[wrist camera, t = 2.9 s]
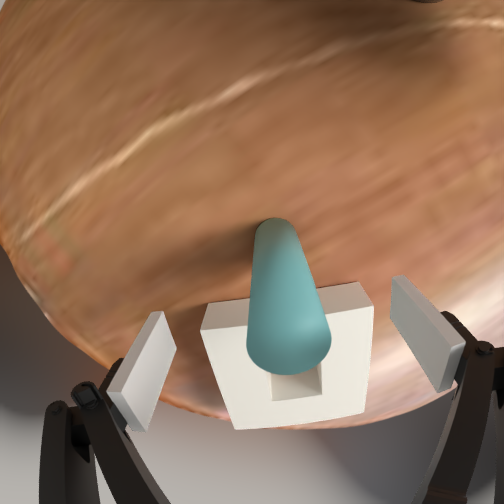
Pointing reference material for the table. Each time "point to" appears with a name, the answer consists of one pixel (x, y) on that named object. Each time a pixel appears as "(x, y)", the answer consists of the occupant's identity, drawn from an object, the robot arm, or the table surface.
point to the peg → (284, 304)
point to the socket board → (298, 385)
